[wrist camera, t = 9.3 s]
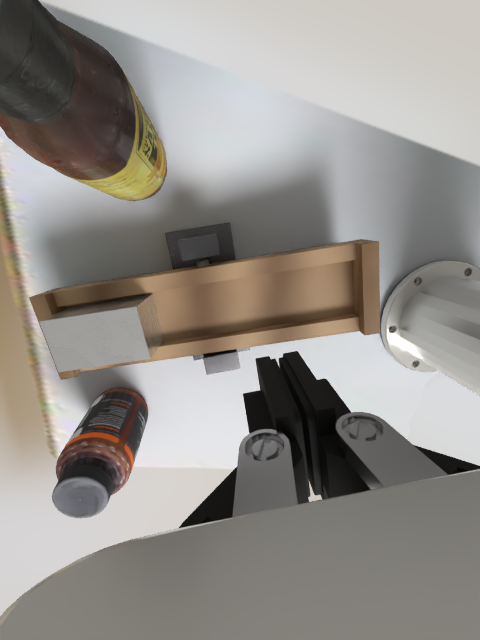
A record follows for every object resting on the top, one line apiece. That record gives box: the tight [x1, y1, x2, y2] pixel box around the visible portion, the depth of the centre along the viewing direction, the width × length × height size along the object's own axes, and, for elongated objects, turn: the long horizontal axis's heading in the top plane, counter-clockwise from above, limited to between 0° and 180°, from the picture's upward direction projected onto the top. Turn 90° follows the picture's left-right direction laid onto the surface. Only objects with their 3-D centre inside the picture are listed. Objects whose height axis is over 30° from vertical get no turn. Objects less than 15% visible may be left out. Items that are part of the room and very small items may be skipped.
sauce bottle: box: [0, 0, 167, 201], centre depth 16 cm, size 6×6×20 cm
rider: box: [39, 294, 164, 372], centre depth 23 cm, size 7×4×4 cm, turn 99°
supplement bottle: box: [52, 388, 148, 518], centre depth 27 cm, size 6×6×11 cm
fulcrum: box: [165, 223, 250, 375], centre depth 27 cm, size 26×13×6 cm, turn 99°
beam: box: [30, 239, 380, 379], centre depth 25 cm, size 26×8×6 cm, turn 99°
